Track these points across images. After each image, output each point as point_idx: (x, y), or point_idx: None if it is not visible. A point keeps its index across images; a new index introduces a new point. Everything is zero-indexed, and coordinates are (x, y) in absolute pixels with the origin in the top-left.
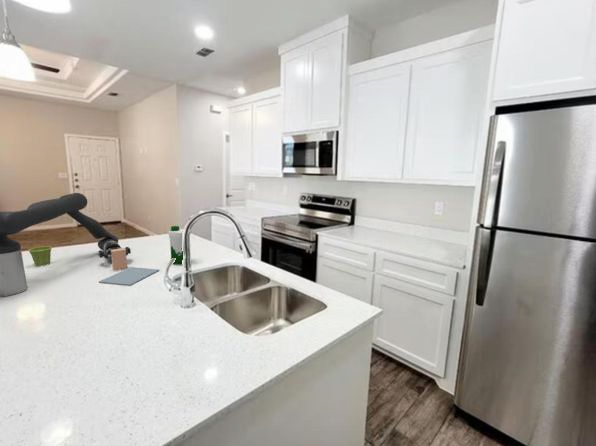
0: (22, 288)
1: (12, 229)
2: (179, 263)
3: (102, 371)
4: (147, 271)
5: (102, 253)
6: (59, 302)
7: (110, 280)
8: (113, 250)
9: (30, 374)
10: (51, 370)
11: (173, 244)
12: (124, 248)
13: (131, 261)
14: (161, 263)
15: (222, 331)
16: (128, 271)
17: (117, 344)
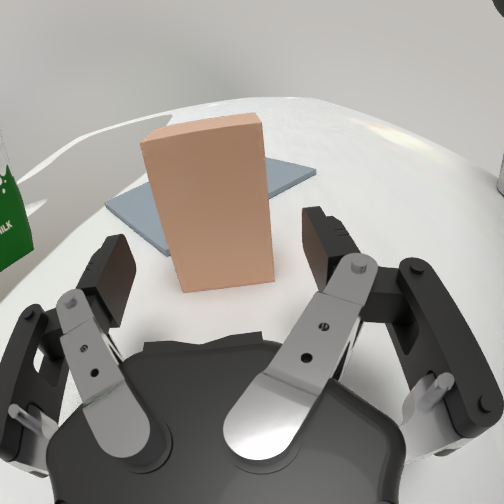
0: (499, 178)
1: (495, 4)
2: (30, 230)
3: (274, 103)
4: (142, 196)
5: (396, 291)
6: (370, 140)
7: (277, 167)
8: (240, 118)
9: (323, 104)
10: (310, 104)
11: (5, 155)
12: (145, 138)
13: None
14: (40, 269)
15: (180, 115)
16: None
17: (264, 108)
